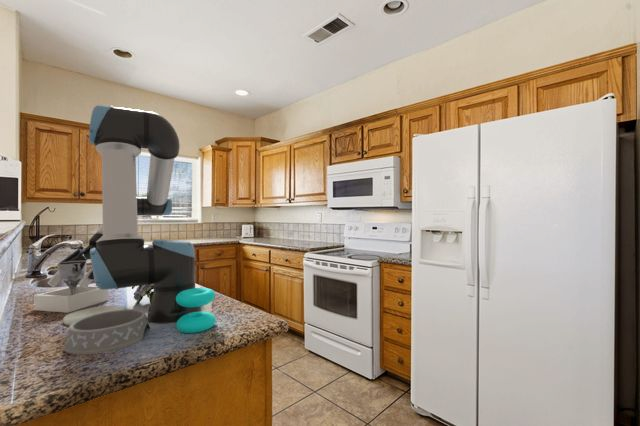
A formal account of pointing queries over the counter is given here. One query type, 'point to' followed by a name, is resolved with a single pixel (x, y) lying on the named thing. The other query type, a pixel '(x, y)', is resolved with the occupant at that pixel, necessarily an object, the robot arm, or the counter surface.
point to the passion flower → (143, 292)
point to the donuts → (195, 319)
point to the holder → (69, 299)
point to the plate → (88, 313)
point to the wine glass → (72, 273)
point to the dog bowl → (106, 331)
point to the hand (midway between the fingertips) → (66, 286)
